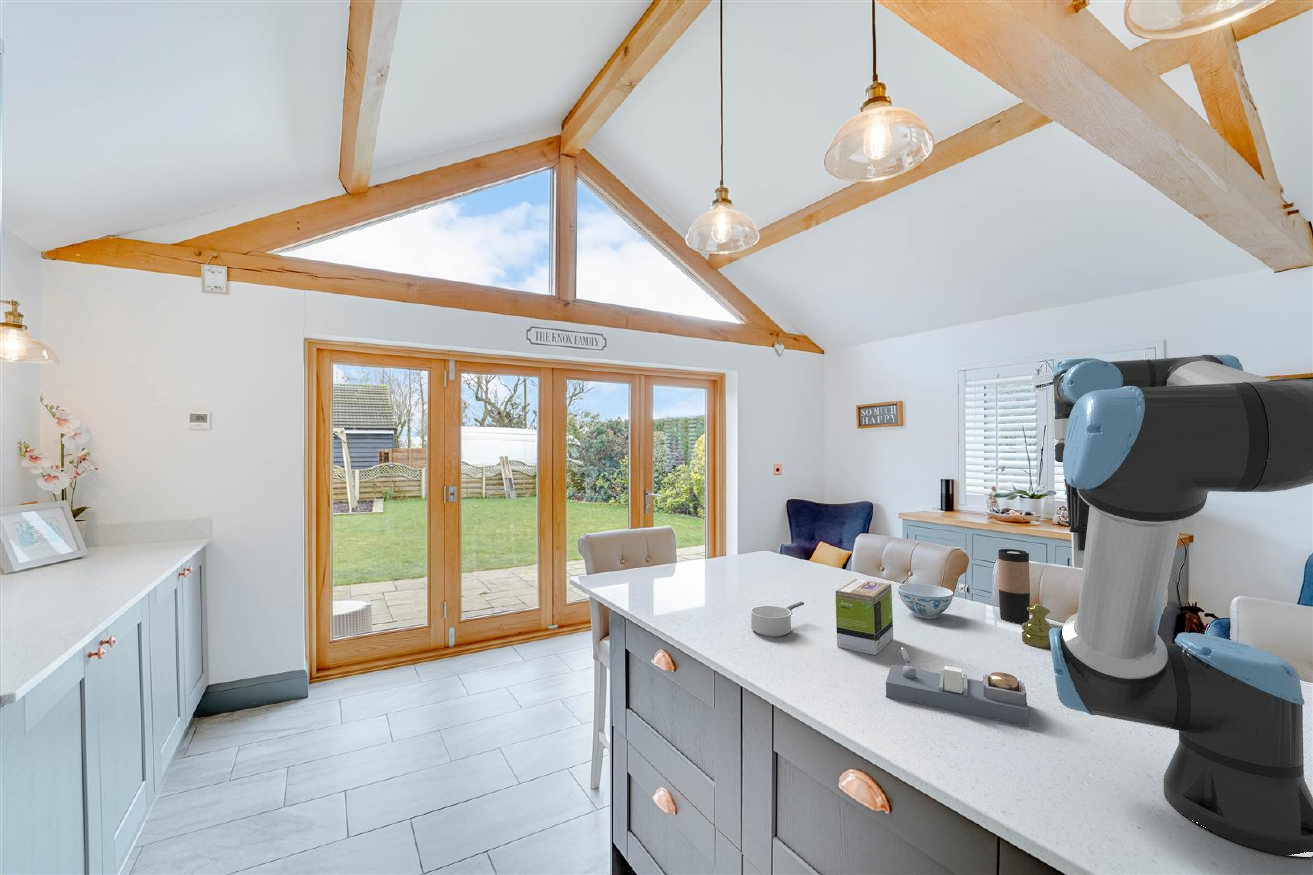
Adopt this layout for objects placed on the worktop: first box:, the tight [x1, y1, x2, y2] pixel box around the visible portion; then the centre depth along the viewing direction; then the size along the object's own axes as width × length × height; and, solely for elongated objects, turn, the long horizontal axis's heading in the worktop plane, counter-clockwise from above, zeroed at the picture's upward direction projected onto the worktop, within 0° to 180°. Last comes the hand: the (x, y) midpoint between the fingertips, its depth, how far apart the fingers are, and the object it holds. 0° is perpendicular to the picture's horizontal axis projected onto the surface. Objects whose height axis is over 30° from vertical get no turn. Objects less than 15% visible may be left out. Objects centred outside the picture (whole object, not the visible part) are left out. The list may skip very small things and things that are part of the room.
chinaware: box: [897, 583, 954, 620], centre depth 163 cm, size 15×15×8 cm
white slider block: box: [943, 665, 963, 693], centre depth 106 cm, size 2×3×4 cm, turn 60°
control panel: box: [885, 664, 1030, 727], centre depth 108 cm, size 10×24×5 cm, turn 60°
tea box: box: [835, 578, 894, 656], centre depth 140 cm, size 15×10×15 cm, turn 141°
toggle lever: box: [900, 647, 911, 665], centre depth 113 cm, size 1×1×3 cm
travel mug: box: [998, 548, 1031, 624], centre depth 159 cm, size 8×8×20 cm
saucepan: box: [749, 601, 805, 638], centre depth 152 cm, size 12×20×6 cm, turn 128°
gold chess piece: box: [1021, 603, 1056, 649], centre depth 139 cm, size 7×7×10 cm
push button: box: [989, 671, 1018, 692], centre depth 104 cm, size 4×4×2 cm
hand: (1082, 567), depth 102 cm, fingers closed
